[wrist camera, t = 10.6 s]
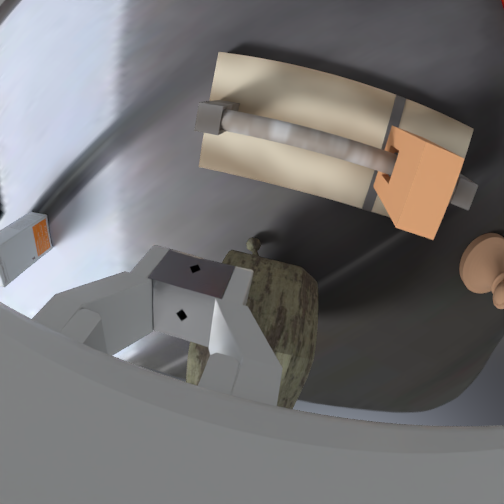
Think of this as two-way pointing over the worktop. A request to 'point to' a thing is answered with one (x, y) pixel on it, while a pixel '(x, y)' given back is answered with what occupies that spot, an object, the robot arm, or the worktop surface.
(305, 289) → the tabletop clock
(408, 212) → the orange rectangular block
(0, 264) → the skincare box
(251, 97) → the rod stand
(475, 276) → the door knob
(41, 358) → the robot arm
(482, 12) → the worktop surface
